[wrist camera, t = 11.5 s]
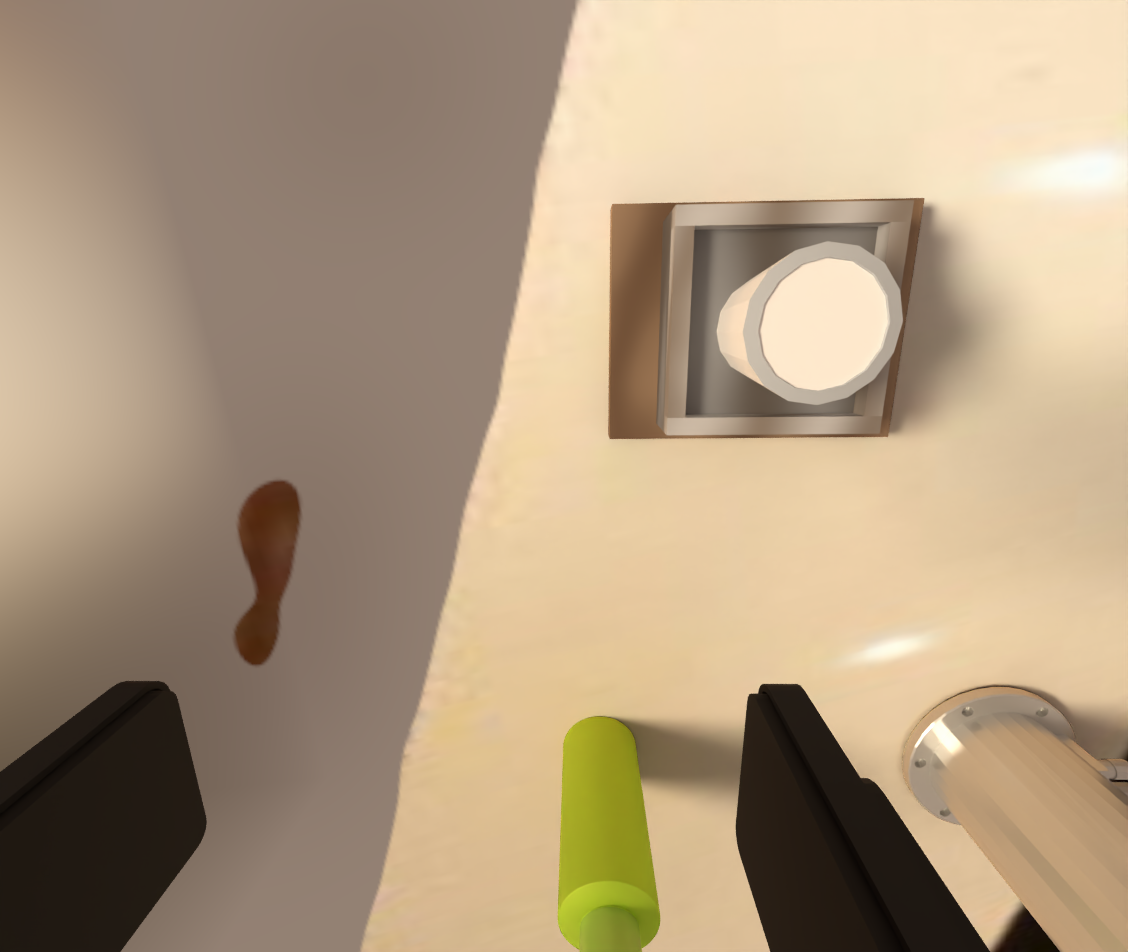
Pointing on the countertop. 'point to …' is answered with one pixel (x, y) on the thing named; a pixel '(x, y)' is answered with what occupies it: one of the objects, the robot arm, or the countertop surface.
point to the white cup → (814, 323)
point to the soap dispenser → (604, 843)
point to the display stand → (699, 292)
